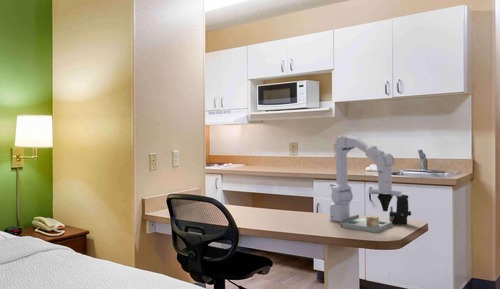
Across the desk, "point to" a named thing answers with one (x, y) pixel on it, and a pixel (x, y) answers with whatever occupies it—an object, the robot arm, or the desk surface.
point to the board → (363, 224)
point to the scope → (400, 211)
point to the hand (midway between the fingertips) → (385, 210)
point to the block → (372, 221)
